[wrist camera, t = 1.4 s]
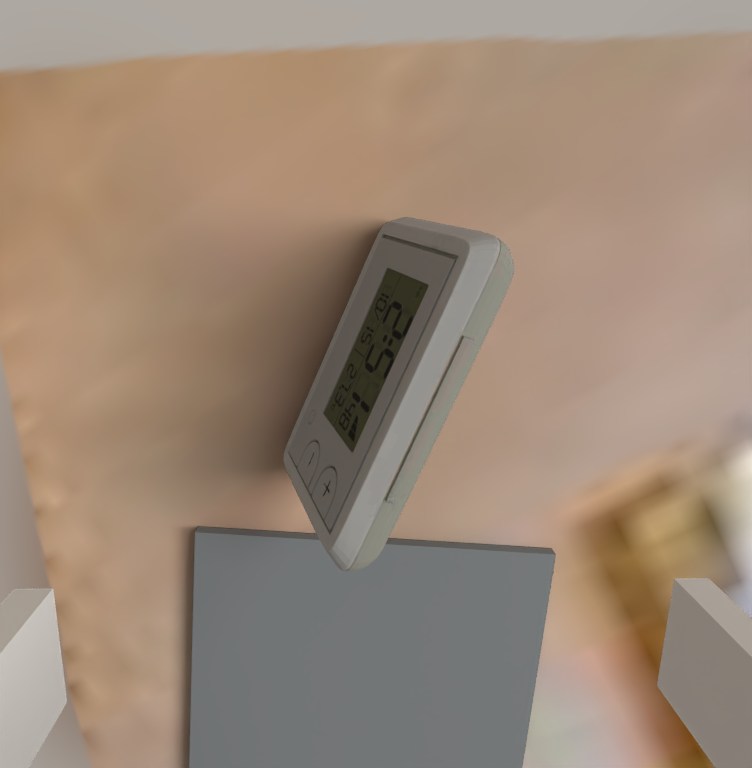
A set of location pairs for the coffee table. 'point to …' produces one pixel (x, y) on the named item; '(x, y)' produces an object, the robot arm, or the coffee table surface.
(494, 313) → the digital clock
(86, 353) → the coffee table surface
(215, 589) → the mat
